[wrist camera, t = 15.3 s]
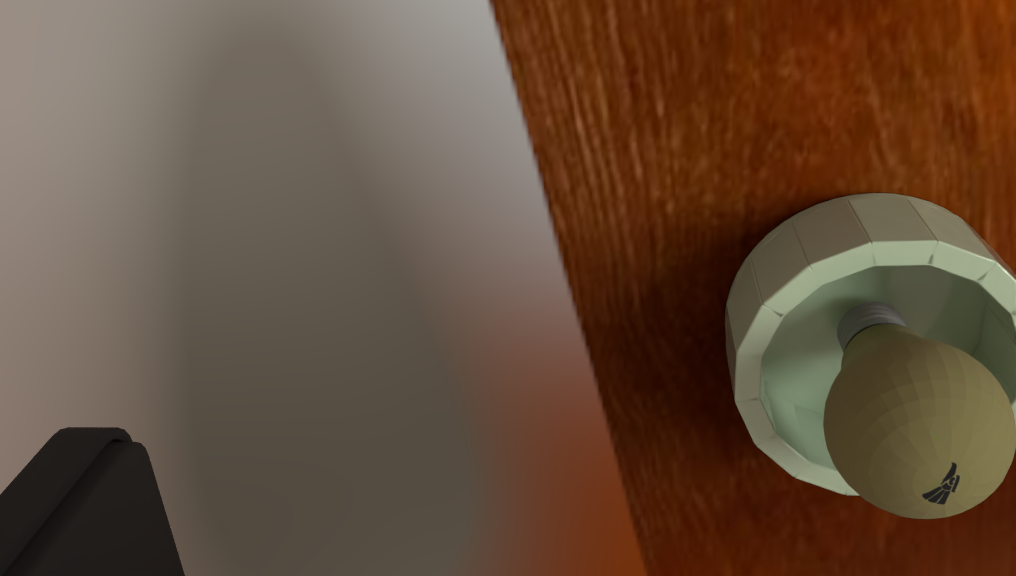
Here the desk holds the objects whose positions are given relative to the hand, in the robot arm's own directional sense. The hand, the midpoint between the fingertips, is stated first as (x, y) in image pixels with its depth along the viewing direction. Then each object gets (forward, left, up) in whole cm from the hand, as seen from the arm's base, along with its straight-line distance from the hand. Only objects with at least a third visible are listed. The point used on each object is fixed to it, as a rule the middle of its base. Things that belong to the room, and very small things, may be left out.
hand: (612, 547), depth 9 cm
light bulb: (+9, -12, -26) cm, 30 cm away
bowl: (+9, -12, -27) cm, 30 cm away
